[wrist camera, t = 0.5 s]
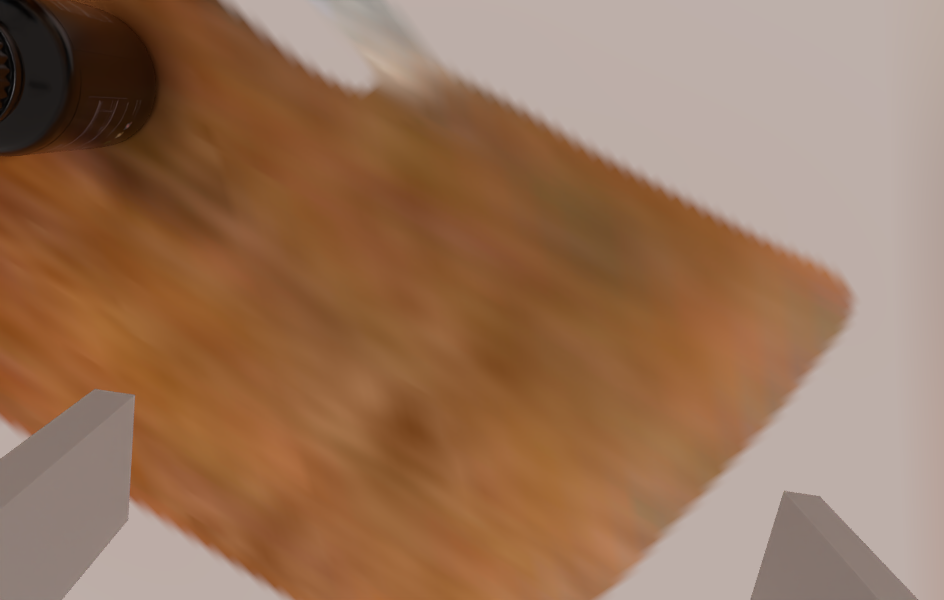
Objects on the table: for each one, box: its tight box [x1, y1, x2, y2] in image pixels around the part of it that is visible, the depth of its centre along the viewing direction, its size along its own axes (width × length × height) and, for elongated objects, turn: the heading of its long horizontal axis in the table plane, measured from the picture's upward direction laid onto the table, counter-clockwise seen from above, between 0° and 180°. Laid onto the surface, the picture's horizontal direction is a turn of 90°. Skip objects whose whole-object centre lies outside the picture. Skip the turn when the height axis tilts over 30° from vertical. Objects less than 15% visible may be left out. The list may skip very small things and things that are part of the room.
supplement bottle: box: [0, 0, 156, 156], centre depth 30 cm, size 7×7×12 cm
